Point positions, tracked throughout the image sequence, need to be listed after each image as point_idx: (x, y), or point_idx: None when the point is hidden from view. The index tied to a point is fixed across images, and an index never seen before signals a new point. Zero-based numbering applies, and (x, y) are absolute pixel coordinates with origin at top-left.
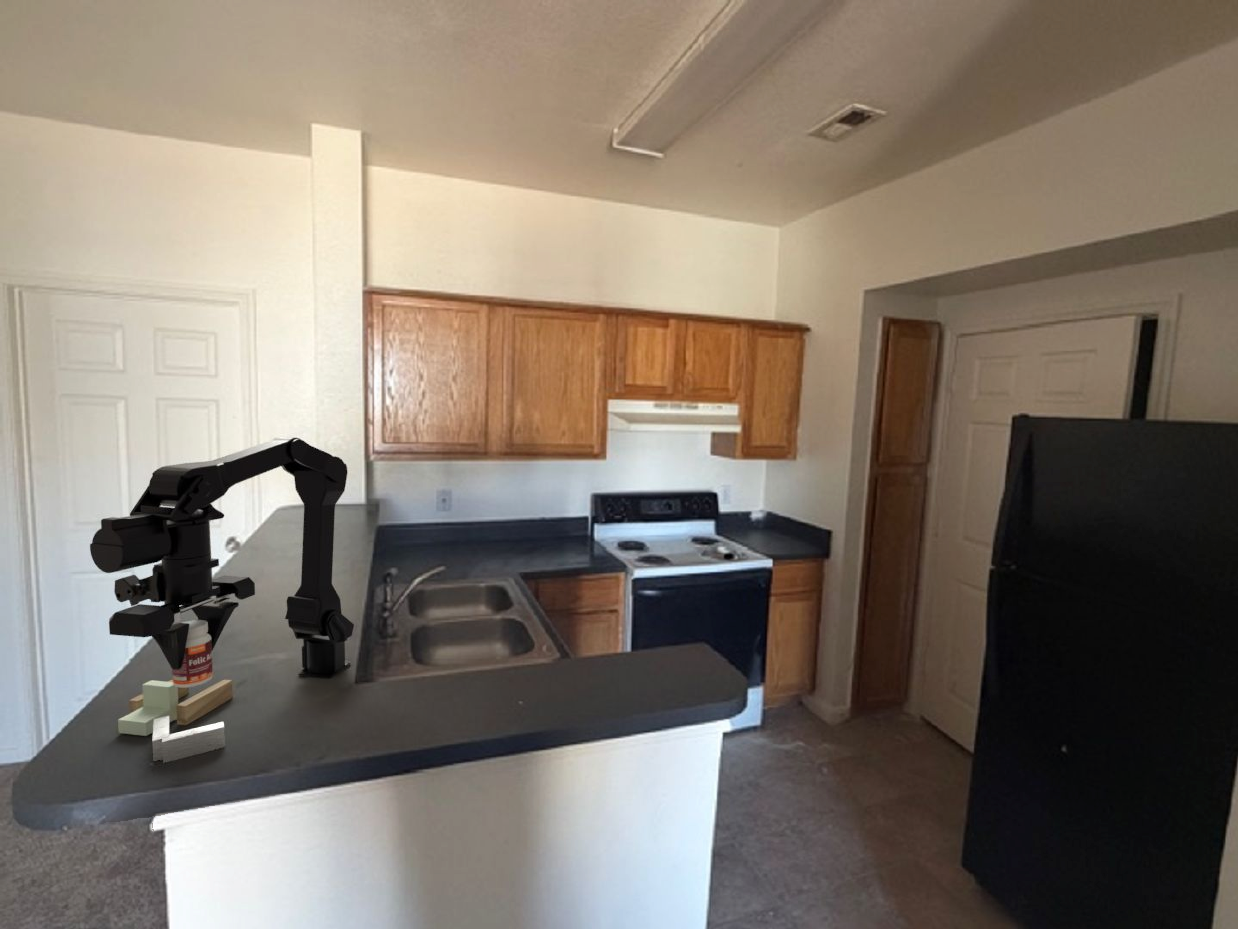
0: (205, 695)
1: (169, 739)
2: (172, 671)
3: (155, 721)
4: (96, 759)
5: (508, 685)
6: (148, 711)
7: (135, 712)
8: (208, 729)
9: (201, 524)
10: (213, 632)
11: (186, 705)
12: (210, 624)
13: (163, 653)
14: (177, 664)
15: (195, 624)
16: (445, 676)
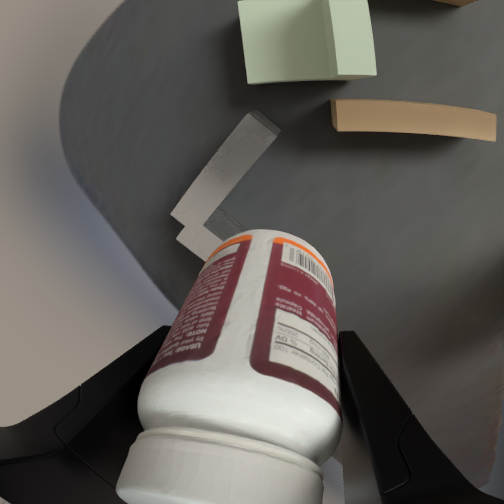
0: (410, 132)
1: (189, 243)
2: (192, 287)
3: (238, 130)
4: (157, 74)
5: (454, 451)
6: (301, 31)
7: (284, 4)
8: None
9: None
10: (346, 468)
11: (342, 130)
12: (354, 502)
13: (101, 370)
14: None
15: None
16: (496, 406)
